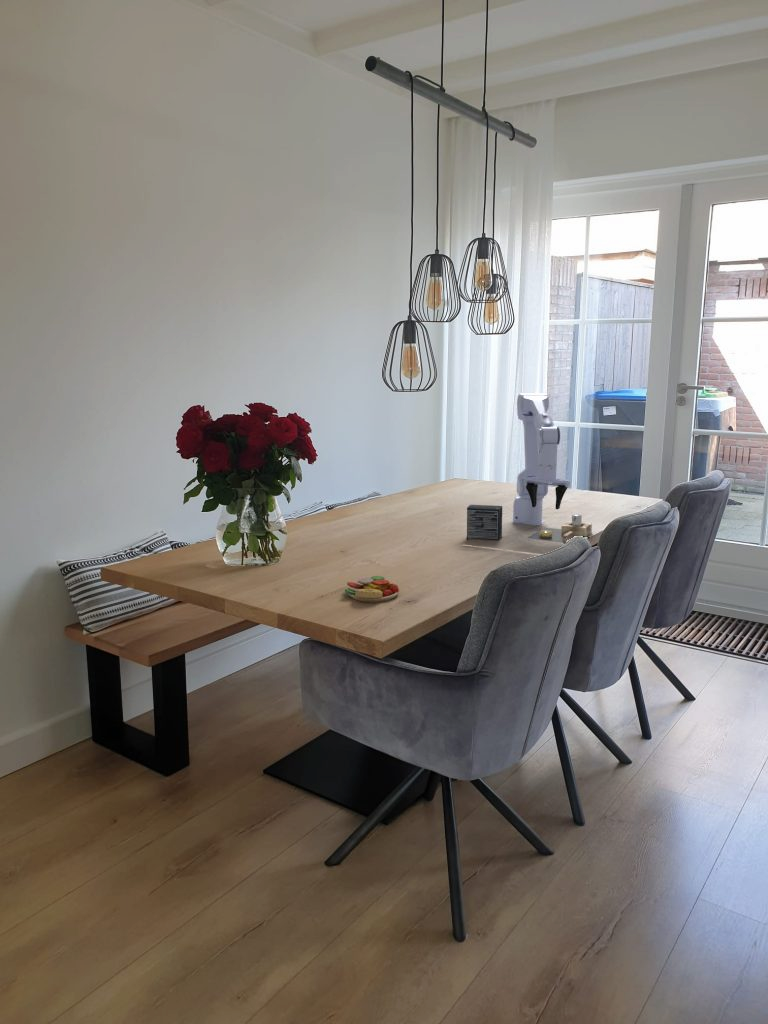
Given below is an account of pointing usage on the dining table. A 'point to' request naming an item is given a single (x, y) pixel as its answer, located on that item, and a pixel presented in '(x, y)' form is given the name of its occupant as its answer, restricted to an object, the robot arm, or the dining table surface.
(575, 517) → the steel pin
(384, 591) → the toy food set
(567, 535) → the beech rail
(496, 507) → the small box
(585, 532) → the beech socket block
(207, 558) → the dining table surface
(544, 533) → the gold metal dome
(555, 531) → the slate board
